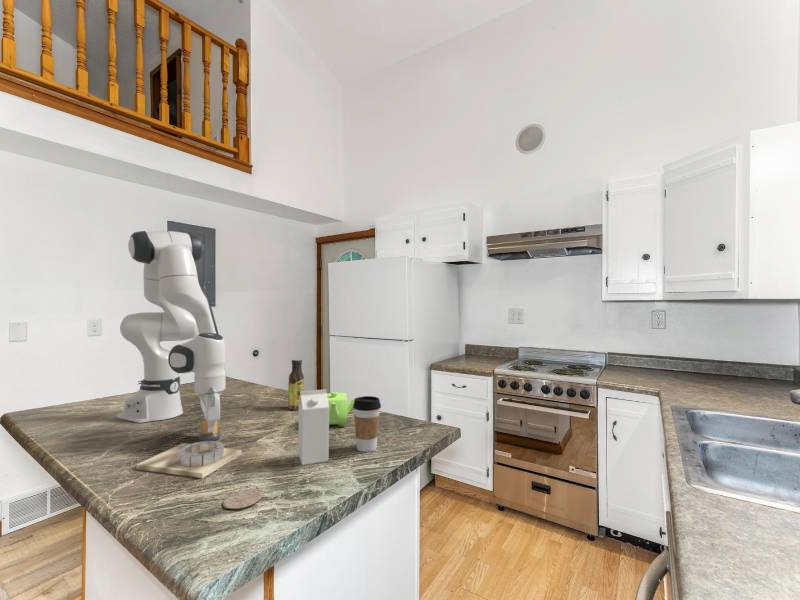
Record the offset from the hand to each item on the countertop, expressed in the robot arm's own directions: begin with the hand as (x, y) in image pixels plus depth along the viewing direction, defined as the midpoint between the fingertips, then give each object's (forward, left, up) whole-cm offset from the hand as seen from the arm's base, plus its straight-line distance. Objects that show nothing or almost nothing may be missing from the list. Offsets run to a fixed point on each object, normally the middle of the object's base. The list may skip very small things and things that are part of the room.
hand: (209, 428), depth 118 cm
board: (+7, -15, -3) cm, 17 cm away
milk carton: (+38, -5, -4) cm, 39 cm away
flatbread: (+33, -29, -4) cm, 44 cm away
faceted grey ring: (+10, -15, -2) cm, 18 cm away
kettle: (+31, +24, -4) cm, 39 cm away
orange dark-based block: (0, 0, -3) cm, 3 cm away
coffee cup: (+50, +6, -4) cm, 50 cm away
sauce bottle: (+9, +38, -4) cm, 39 cm away
